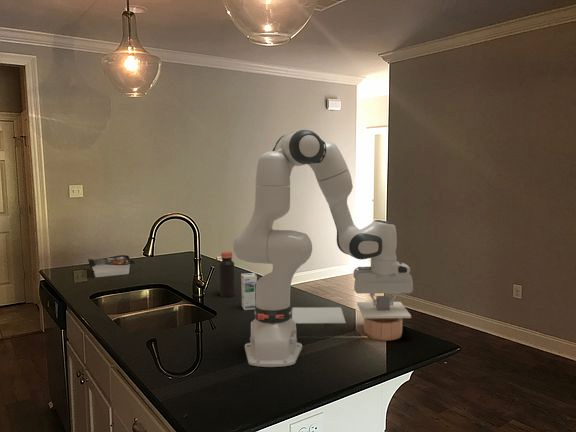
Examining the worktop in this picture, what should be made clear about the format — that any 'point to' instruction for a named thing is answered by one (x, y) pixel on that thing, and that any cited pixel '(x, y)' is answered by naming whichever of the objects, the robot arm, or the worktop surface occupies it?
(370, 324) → the bowl
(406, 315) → the cover sheet
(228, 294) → the bottle
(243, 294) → the syrup box
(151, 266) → the worktop surface
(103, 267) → the food packaging
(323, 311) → the mat
